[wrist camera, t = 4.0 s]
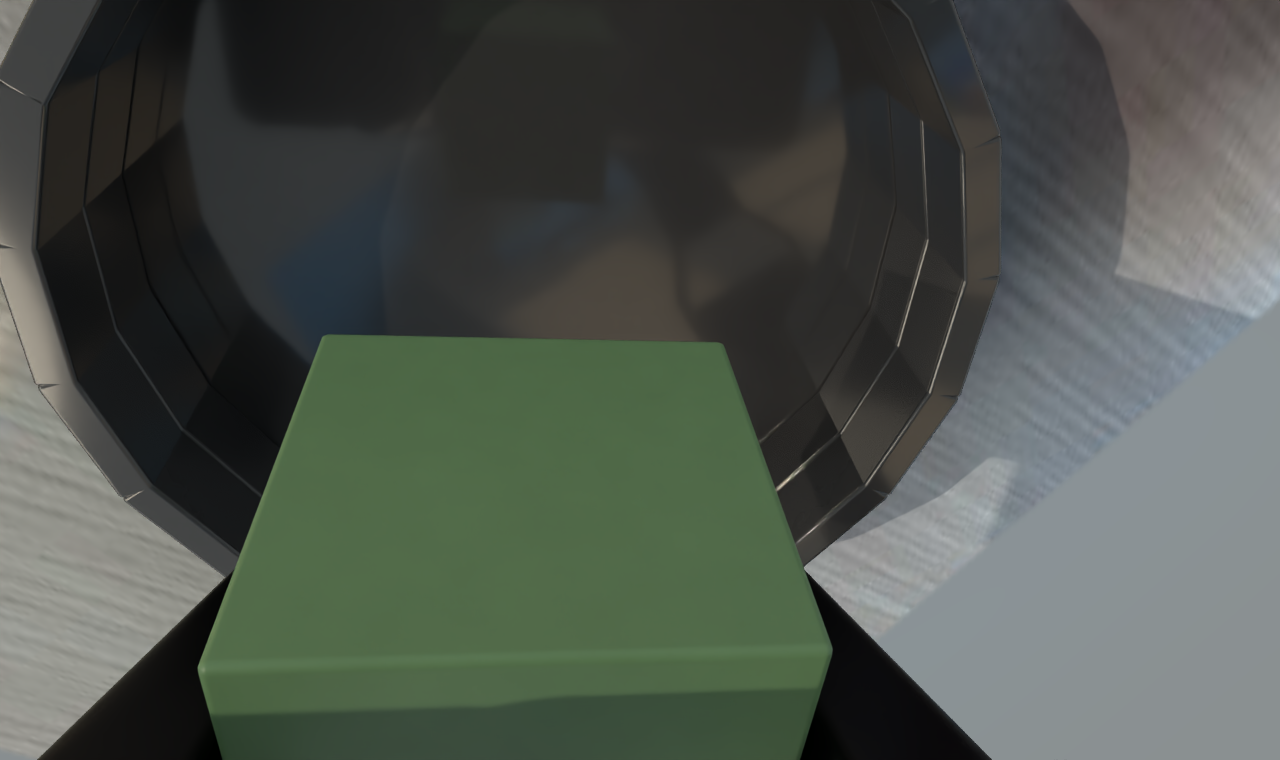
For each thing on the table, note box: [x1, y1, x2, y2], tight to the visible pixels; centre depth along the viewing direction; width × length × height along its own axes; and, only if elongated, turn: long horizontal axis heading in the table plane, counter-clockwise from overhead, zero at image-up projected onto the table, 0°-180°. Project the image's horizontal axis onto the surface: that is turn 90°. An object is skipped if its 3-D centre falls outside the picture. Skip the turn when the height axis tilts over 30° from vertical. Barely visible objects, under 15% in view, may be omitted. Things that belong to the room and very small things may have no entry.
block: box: [198, 334, 833, 760], centre depth 8 cm, size 4×4×4 cm
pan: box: [0, 0, 1002, 577], centre depth 15 cm, size 14×14×4 cm
